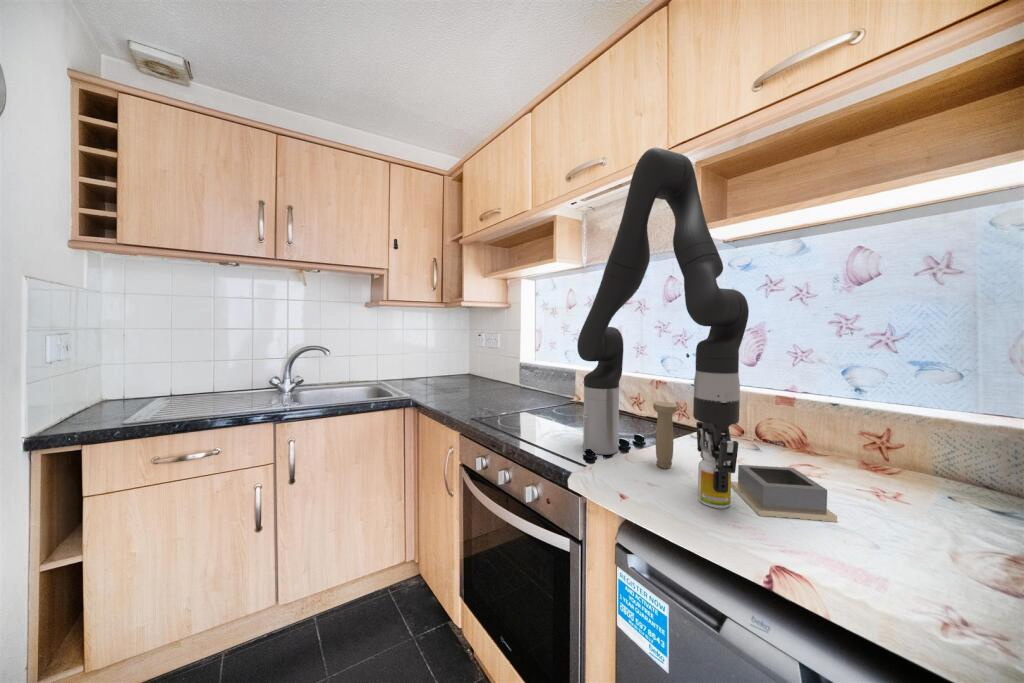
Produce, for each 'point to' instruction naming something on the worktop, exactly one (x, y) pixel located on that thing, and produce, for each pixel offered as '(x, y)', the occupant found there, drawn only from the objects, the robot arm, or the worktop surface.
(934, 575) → the worktop surface
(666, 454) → the handle
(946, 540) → the worktop surface
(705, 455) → the supplement bottle
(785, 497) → the gray open box
